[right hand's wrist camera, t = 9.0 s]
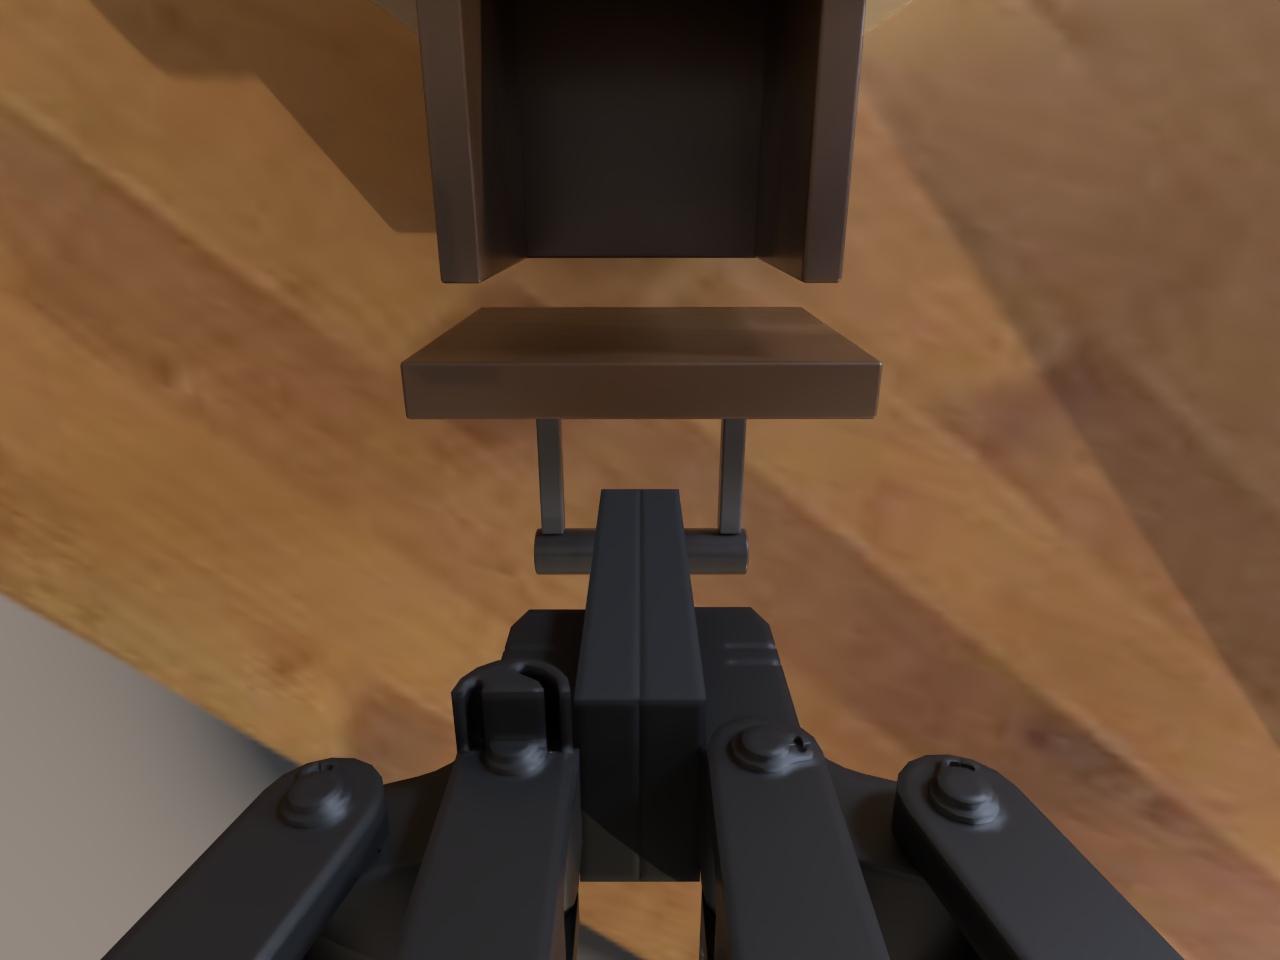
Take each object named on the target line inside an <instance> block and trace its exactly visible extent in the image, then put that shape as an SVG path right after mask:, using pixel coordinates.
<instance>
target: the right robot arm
mask: <svg viewBox="0 0 1280 960" xmlns="http://www.w3.org/2000/svg"><path fill="white" fill-rule="evenodd" d="M451 696H452V706H453V715H454V725H455V734H456V744H457V756H456V759H455V761H453V762H452V763H450V764H448V765H446V766H444V767H442V768H440V769H438V770H436V771H434V772H430V773H427V774H424V775H421V776H418V777H414V778H410V779H405V780H401V781H397V782H393V783H388V784H384V785H383V780H382V777H381V775H380V774H379V773H378V772H377V771H376V769H375V768H374V767H373V766H372V765H370V764H368V763H365V762H363V761H360V760H357V759H355V758H329V759H324V760H320V761H315V762H311V763H307V764H305V765H303V766H301V767H298V768H296V769H294V770H292V771H290V772H288V773H286V774H284V775H282V776H281V777H280V778H279V779H277V780H276V781H275V782H274V783H272V784H271V785H270V786H269V787H267V788H266V789H265V790H264V791H263V792H262V793H261V794H260V795H259V796H258V797H257V798H256V799H255V800H254V801H253V802H252V803H251V804H250V805H249V806H248V807H247V808H246V809H245V811H243V813H241V815H240V816H239V817H238V818H237V819H236V820H235V821H234V822H233V823H232V824H231V825H230V826H229V827H228V828H227V829H226V830H225V831H224V832H223V833H222V834H221V835H220V836H219V837H218V838H217V839H216V840H215V842H214V843H213V844H212V845H211V846H210V847H209V848H208V849H207V850H206V851H205V852H204V853H203V854H202V855H201V856H200V857H199V858H198V859H197V860H196V861H195V862H194V863H193V864H192V865H191V866H190V867H189V868H188V870H187V871H186V872H185V873H184V874H183V875H182V876H181V877H180V878H179V879H178V880H177V881H176V882H175V883H174V884H173V885H172V886H171V887H170V888H169V889H168V890H167V891H166V892H165V893H164V894H163V895H162V896H161V898H160V899H159V900H158V901H157V902H156V903H155V904H154V905H153V906H152V907H151V908H150V909H149V910H148V911H147V912H146V913H145V914H144V915H143V916H142V917H141V918H140V919H139V920H138V921H137V922H136V923H135V925H134V926H133V927H132V928H131V929H130V930H129V931H128V932H127V933H126V934H125V935H124V936H123V937H122V938H121V939H120V940H119V941H118V942H117V943H116V944H115V945H114V946H113V947H112V948H111V949H110V950H109V952H107V954H106V955H105V956H104V957H103V958H102V959H101V960H576V957H577V945H578V932H579V899H578V886H579V875H580V882H700V871H701V882H702V899H701V925H700V952H699V960H1184V959H1183V958H1182V957H1181V956H1180V955H1179V954H1178V953H1177V952H1176V951H1175V949H1174V948H1173V947H1172V946H1171V945H1170V944H1169V943H1168V942H1167V941H1166V940H1165V939H1164V938H1163V937H1162V936H1161V935H1160V934H1159V933H1158V932H1157V931H1156V930H1155V929H1154V928H1153V927H1152V926H1151V925H1150V924H1149V923H1148V922H1147V921H1146V920H1145V919H1144V918H1143V917H1142V915H1141V914H1140V913H1139V912H1138V911H1137V910H1136V909H1135V908H1134V907H1133V906H1132V905H1131V904H1130V903H1129V902H1128V901H1127V900H1126V899H1125V898H1124V897H1123V896H1122V895H1121V894H1120V893H1119V892H1118V891H1117V890H1116V889H1115V888H1114V887H1113V886H1112V885H1111V884H1110V883H1109V881H1108V880H1107V879H1106V878H1105V877H1104V876H1103V875H1102V874H1101V873H1100V872H1099V871H1098V870H1097V869H1096V868H1095V867H1094V866H1093V865H1092V864H1091V863H1090V862H1089V861H1088V860H1087V859H1086V858H1085V857H1084V856H1083V855H1082V854H1081V853H1080V852H1079V851H1078V850H1077V848H1076V847H1075V846H1074V845H1073V844H1072V843H1071V842H1070V841H1069V840H1068V839H1067V838H1066V837H1065V836H1064V835H1063V834H1062V833H1061V832H1060V831H1059V830H1058V829H1057V828H1056V827H1055V826H1054V825H1053V824H1052V823H1051V822H1050V821H1049V820H1048V819H1047V818H1046V817H1045V816H1044V814H1043V813H1042V812H1041V811H1040V810H1039V809H1038V808H1037V807H1036V806H1035V805H1034V804H1033V803H1032V802H1031V801H1030V800H1029V799H1028V798H1027V797H1026V796H1025V795H1024V794H1023V793H1022V792H1021V791H1020V790H1019V789H1018V788H1017V787H1016V786H1015V785H1014V784H1012V783H1011V782H1010V781H1009V780H1007V779H1006V778H1005V777H1004V776H1002V775H1001V774H1000V773H998V772H997V771H995V770H993V769H991V768H989V767H987V766H985V765H983V764H980V763H978V762H976V761H974V760H970V759H966V758H961V757H957V756H952V755H925V756H923V757H920V758H918V759H915V760H912V761H910V762H908V763H907V764H906V766H905V767H904V768H903V769H902V770H901V772H900V773H899V774H898V780H897V782H896V781H892V780H888V779H883V778H879V777H875V776H871V775H866V774H862V773H859V772H856V771H853V770H850V769H847V768H844V767H842V766H840V765H838V764H836V763H834V762H832V761H830V760H828V759H827V758H825V757H824V755H823V752H822V750H821V748H820V747H819V745H818V744H817V742H816V740H815V739H814V737H813V736H811V735H810V734H809V733H807V732H806V731H805V730H803V729H802V728H801V727H800V725H799V722H798V719H797V715H796V712H795V709H794V705H793V702H792V699H791V695H790V692H789V689H788V686H787V682H786V679H785V676H784V672H783V669H782V666H781V665H780V659H779V656H778V652H777V649H775V643H774V639H773V636H772V633H771V629H770V626H769V624H768V623H767V622H766V621H765V620H764V619H763V618H762V617H761V616H759V615H758V614H757V613H756V612H755V611H754V610H753V609H752V608H751V607H694V602H693V595H692V587H691V580H690V572H689V565H688V557H687V549H686V542H685V534H684V527H683V519H682V512H681V504H680V496H679V489H601V496H600V504H599V512H598V519H597V527H596V534H595V542H594V549H593V557H592V565H591V572H590V580H589V587H588V595H587V602H586V610H528V611H527V612H526V613H525V614H524V615H523V616H522V617H521V618H520V619H519V620H518V621H517V622H516V623H515V624H514V625H513V626H512V627H511V629H510V632H509V636H508V639H507V642H506V646H505V651H504V652H503V656H502V659H501V660H498V661H495V662H492V663H489V664H486V665H483V666H480V667H477V668H476V669H474V670H473V671H471V672H470V673H468V674H467V675H465V676H464V677H462V678H461V679H460V680H459V682H458V683H457V685H456V686H455V687H454V689H453V690H452V692H451Z"/></svg>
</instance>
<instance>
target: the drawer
mask: <svg viewBox="0 0 1280 960" xmlns="http://www.w3.org/2000/svg"><path fill="white" fill-rule="evenodd" d="M866 1H867V0H416V9H417V20H418V31H419V42H420V54H421V65H422V76H423V87H424V98H425V109H426V120H427V131H428V142H429V153H430V164H431V175H432V186H433V197H434V208H435V220H436V231H437V242H438V253H439V264H440V275H441V281H442V282H443V283H480V282H482V281H484V280H486V279H488V278H490V277H491V276H493V275H495V274H497V273H499V272H501V271H503V270H505V269H507V268H508V267H510V266H512V265H514V264H516V263H518V262H520V261H522V260H523V259H525V258H758V259H760V260H762V261H764V262H766V263H768V264H770V265H772V266H774V267H775V268H777V269H779V270H781V271H783V272H785V273H787V274H789V275H791V276H793V277H795V278H796V279H798V280H800V281H802V282H804V283H837V282H840V280H841V278H842V268H843V256H844V245H845V234H846V223H847V212H848V201H849V190H850V179H851V168H852V156H853V145H854V134H855V123H856V112H857V101H858V90H859V79H860V68H861V57H862V45H863V34H864V23H865V12H866ZM881 373H882V363H881V362H880V361H879V360H877V359H876V358H874V357H873V356H871V355H870V354H868V353H867V352H865V351H864V350H863V349H861V348H860V347H858V346H857V345H855V344H854V343H852V342H851V341H849V340H848V339H847V338H845V337H844V336H842V335H841V334H839V333H838V332H836V331H835V330H833V329H832V328H831V327H829V326H828V325H826V324H825V323H823V322H822V321H820V320H819V319H818V318H816V317H815V316H813V315H812V314H810V313H809V312H807V311H806V310H804V309H803V308H801V307H482V308H480V309H478V310H477V311H475V312H474V313H473V314H471V315H470V316H468V317H467V318H465V319H464V320H462V321H461V322H460V323H458V324H457V325H455V326H454V327H452V328H451V329H449V330H448V331H447V332H445V333H444V334H442V335H441V336H439V337H438V338H436V339H435V340H433V341H432V342H431V343H429V344H428V345H426V346H425V347H423V348H422V349H420V350H419V351H418V352H416V353H415V354H413V355H412V356H410V357H409V358H407V359H406V360H405V361H403V362H402V363H401V375H402V384H403V393H404V401H405V410H406V416H407V418H409V419H536V425H537V445H538V465H539V484H540V504H541V524H542V528H539V529H537V531H536V535H535V543H534V564H535V570H536V573H537V574H539V575H590V572H591V565H592V557H593V549H594V542H595V534H596V528H565V507H564V481H563V455H562V429H561V419H721V444H720V470H719V496H718V522H717V525H718V528H684V534H685V542H686V549H687V557H688V565H689V572H690V575H744V574H746V572H747V568H748V537H747V532H746V530H745V529H744V528H741V514H742V494H743V474H744V455H745V435H746V419H873V418H876V415H877V408H878V400H879V391H880V382H881Z"/></svg>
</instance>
